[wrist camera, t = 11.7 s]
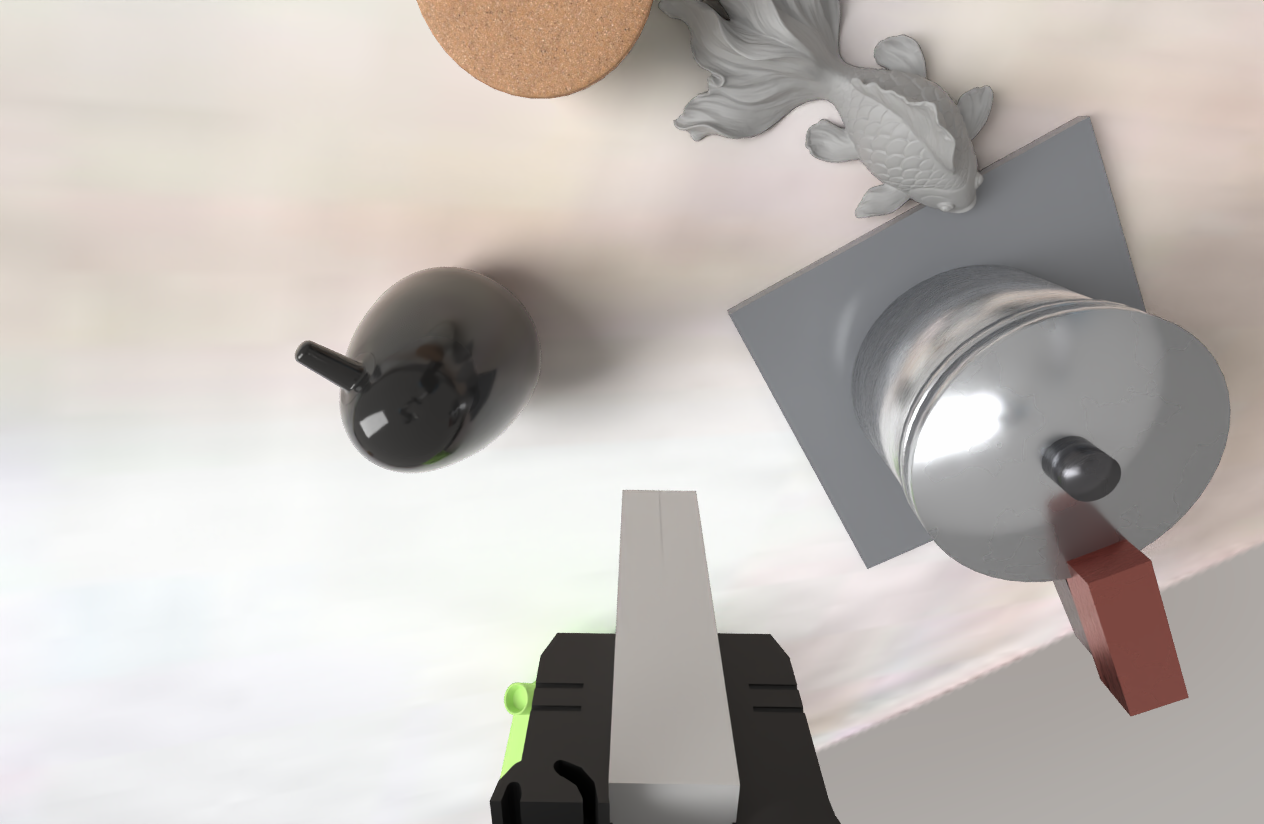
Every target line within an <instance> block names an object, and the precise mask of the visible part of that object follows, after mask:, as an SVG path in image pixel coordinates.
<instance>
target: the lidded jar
mask: <svg viewBox="0 0 1264 824" xmlns="http://www.w3.org/2000/svg"><path fill="white" fill-rule="evenodd" d="M417 3H418V5H419V8H420V10H421V13H422V15H423V17H424V19H425V21H426V23H427V24H428V26H429V28H430V30H431V32H432V34H433V35H434V37H435V38H436V39H437V41H438V42H439V43H440V45H441V46H442V47H443V49H444V50H445V51H446V53H447V54H448V55H449V56H450V57H451V58H452V59H453V60H454V61H455V62H456V63H457V64H458V65H459V66H460V67H461V68H463V69H464V70H465V71H467V72H468V73H469V74H471V75H472V76H473V77H474V78H476V79H477V80H479V81H481V82H483V83H485V84H486V85H488V86H490V87H492V88H494V89H497V90H499V91H502V92H505V93H508V94H511V95H515V96H520V97H526V98H556V97H561V96H567V95H570V94H573V93H576V92H578V91H581V90H584V89H586V88H588V87H590V86H591V85H593V84H595V83H597V82H598V81H600V80H602V79H603V78H604V77H605V76H606V75H608V74H609V73H610V72H611V71H613V70H614V69H615V68H616V67H617V66H618V65H619V64H620V62H621V61H622V60H623V59H624V58H625V57H626V56H627V55H628V53H629V52H630V50H631V49H632V47H633V46H634V44H635V43H636V41H637V39H638V38H639V36H640V34H641V32H642V30H643V28H644V25H645V23H646V21H647V19H648V16H649V13H650V10H651V6H652V3H653V0H417Z"/></svg>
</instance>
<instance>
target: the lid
mask: <svg viewBox="0 0 1264 824" xmlns="http://www.w3.org/2000/svg"><path fill="white" fill-rule="evenodd" d="M1229 425H1230V402H1229V392H1228V389H1227V386H1226V382H1225V379H1224V375H1223V373H1222V372H1221V370H1220V368H1219V366H1218V364H1217V362H1216V360H1215V359H1214V357H1213V356H1212V355H1211V353H1210V352H1209V351H1208V349H1207V348H1206V347H1205V346H1204V345H1203V344H1202V343H1201V342H1200V341H1199V340H1198V339H1196V338H1195V337H1194V336H1193V335H1192V334H1190V333H1189V332H1187V331H1186V330H1184V329H1182V328H1181V327H1179V326H1178V325H1176V324H1174V323H1171V322H1169V321H1166V320H1164V319H1162V318H1159V317H1157V316H1154V315H1151V314H1149V313H1146V312H1144V311H1141V310H1138V309H1134V308H1130V307H1126V306H1122V305H1114V304H1104V303H1083V304H1072V305H1066V306H1059V307H1054V308H1050V309H1047V310H1043V311H1039V312H1036V313H1033V314H1030V315H1028V316H1025V317H1023V318H1020V319H1018V320H1015V321H1013V322H1011V323H1009V324H1007V325H1005V326H1003V327H1001V328H999V329H997V330H995V331H994V332H992V333H990V334H989V335H987V336H986V337H984V338H983V339H981V340H980V341H978V342H977V343H975V344H974V345H973V346H972V347H970V348H969V349H968V350H967V351H966V352H964V353H963V354H962V355H961V356H960V357H958V358H957V359H956V360H955V361H954V362H953V363H952V364H951V365H950V366H949V368H948V369H947V370H946V371H945V372H944V373H943V374H942V375H941V376H940V378H939V379H938V380H937V381H936V383H935V384H934V385H933V387H932V388H931V389H930V391H929V392H928V394H927V396H926V397H925V399H924V401H923V402H922V404H921V406H920V407H919V409H918V412H917V414H916V416H915V418H914V421H913V423H912V425H911V429H910V432H909V436H908V439H907V443H906V450H905V456H904V478H905V484H906V490H907V494H908V497H909V500H910V503H911V506H912V508H913V510H914V512H915V513H916V515H917V517H918V519H919V521H920V522H921V524H922V525H923V526H924V528H925V529H926V531H927V532H928V533H929V535H930V536H931V537H932V539H933V540H934V541H935V543H936V544H937V545H938V546H939V547H940V548H941V549H942V550H943V551H944V552H945V553H946V554H947V555H949V556H950V557H951V558H953V559H954V560H956V561H957V562H959V563H960V564H962V565H964V566H966V567H968V568H970V569H972V570H974V571H976V572H979V573H982V574H985V575H988V576H990V577H995V578H999V579H1004V580H1010V581H1021V582H1046V581H1054V580H1063V579H1067V582H1068V585H1069V588H1070V591H1071V594H1072V597H1073V600H1074V603H1075V606H1076V609H1077V612H1078V615H1079V617H1080V620H1081V623H1082V626H1083V629H1084V632H1085V635H1086V638H1087V641H1088V644H1089V647H1090V650H1091V653H1092V656H1093V659H1094V662H1095V665H1096V668H1097V671H1098V674H1099V676H1100V679H1101V681H1102V682H1103V683H1104V684H1105V686H1106V687H1107V688H1108V689H1109V691H1110V692H1111V693H1112V694H1113V695H1114V697H1115V698H1116V699H1117V700H1118V702H1119V703H1120V704H1121V705H1122V706H1123V708H1124V709H1125V710H1126V711H1127V713H1128V714H1129V715H1130V716H1134V715H1137V714H1140V713H1143V712H1146V711H1149V710H1152V709H1155V708H1158V707H1161V706H1164V705H1167V704H1170V703H1173V702H1176V701H1179V700H1182V699H1185V698H1188V694H1187V690H1186V687H1185V683H1184V679H1183V676H1182V672H1181V668H1180V665H1179V661H1178V658H1177V654H1176V650H1175V646H1174V643H1173V639H1172V635H1171V632H1170V628H1169V624H1168V621H1167V617H1166V613H1165V610H1164V606H1163V602H1162V599H1161V595H1160V591H1159V588H1158V584H1157V580H1156V577H1155V573H1154V569H1153V566H1152V562H1151V560H1150V559H1149V558H1148V557H1146V556H1145V555H1144V554H1143V553H1142V552H1141V551H1140V550H1141V549H1143V548H1144V547H1146V546H1147V545H1149V544H1150V543H1152V542H1153V541H1155V540H1156V539H1158V538H1159V537H1160V536H1161V535H1163V534H1164V533H1165V532H1166V531H1168V530H1169V529H1170V528H1171V527H1172V526H1173V525H1174V524H1175V523H1176V522H1177V521H1178V520H1180V519H1181V518H1182V517H1183V516H1184V515H1185V514H1186V513H1187V511H1188V510H1189V509H1190V508H1191V507H1192V505H1193V504H1194V503H1195V502H1196V501H1197V499H1198V498H1199V497H1200V495H1201V494H1202V492H1203V491H1204V489H1205V488H1206V486H1207V485H1208V483H1209V482H1210V480H1211V478H1212V476H1213V475H1214V473H1215V471H1216V469H1217V467H1218V465H1219V462H1220V460H1221V457H1222V454H1223V451H1224V449H1225V446H1226V441H1227V436H1228V432H1229Z"/></svg>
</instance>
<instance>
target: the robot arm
mask: <svg viewBox="0 0 1264 824" xmlns="http://www.w3.org/2000/svg"><path fill="white" fill-rule="evenodd" d="M490 807H491V816H492V824H841V823H840V822H839V820H838V819H837V817H836V816H835V814H834V811H833V809H832V807H831V804H830V802H829V799H828V795H827V792H826V788H825V785H824V781H823V777H822V774H821V771H820V766H819V763H818V759H817V756H816V752H815V748H814V745H813V741H812V737H811V734H810V730H809V727H808V723H807V719H806V716H805V713H803V705H802V701H801V698H800V694H799V691H798V690H797V683H796V680H795V676H794V672H793V669H792V665H791V662H790V658H789V657H788V655H787V654H786V653H785V652H784V650H783V649H782V648H781V647H780V645H779V644H778V643H777V642H776V641H775V639H774V638H773V637H772V636H771V634H723V633H717V628H716V621H715V615H714V608H713V601H712V595H711V588H710V581H709V574H708V568H707V561H706V554H705V548H704V541H703V534H702V528H701V521H700V514H699V508H698V501H697V494H696V491H655V490H623V492H622V513H621V534H620V555H619V576H618V597H617V617H616V634H596V633H557V634H556V636H555V637H554V638H553V640H552V641H551V642H550V644H549V645H548V646H547V648H546V649H545V651H544V652H543V653H542V655H541V657H540V662H539V668H538V673H537V678H536V687H535V689H534V694H533V700H532V708H531V711H530V716H529V721H528V727H527V732H526V738H525V743H524V748H523V754H522V759H521V761H519V762H517V763H515V764H514V765H513V766H512V767H511V768H510V769H509V770H508V771H507V772H506V773H505V774H504V775H503V777H502V778H501V779H500V780H499V781H498V783H497V786H496V788H495V790H494V793H493V795H492V797H491V800H490Z"/></svg>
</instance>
